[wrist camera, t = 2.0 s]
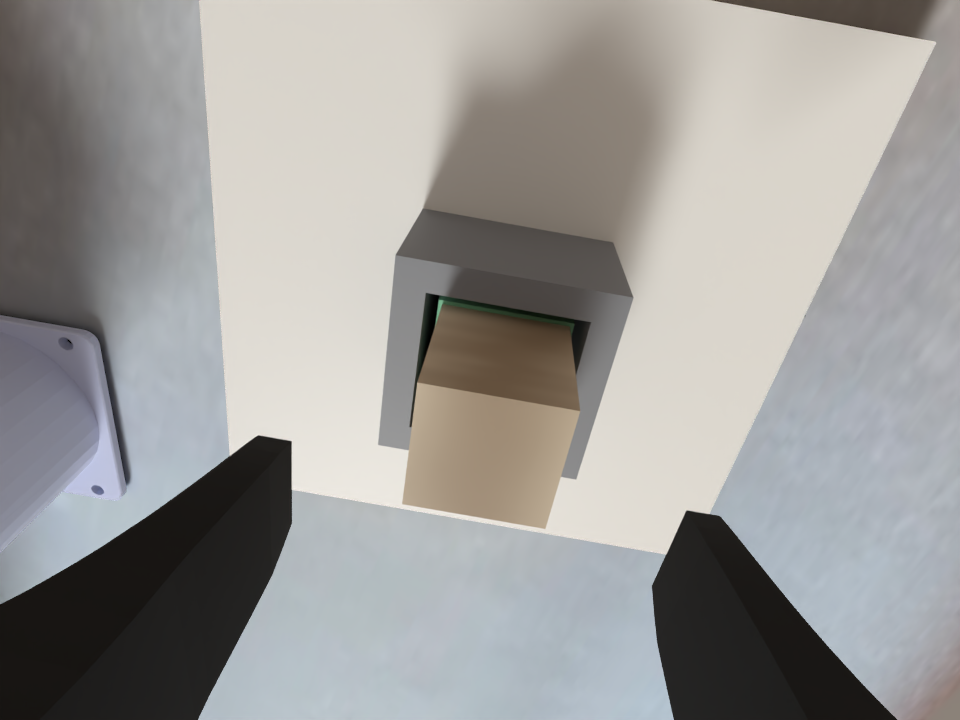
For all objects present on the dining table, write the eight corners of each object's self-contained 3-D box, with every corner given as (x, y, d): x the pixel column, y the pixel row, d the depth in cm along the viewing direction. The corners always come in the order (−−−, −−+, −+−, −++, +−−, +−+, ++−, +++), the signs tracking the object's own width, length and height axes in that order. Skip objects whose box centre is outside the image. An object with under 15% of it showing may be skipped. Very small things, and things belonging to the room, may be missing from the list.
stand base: (244, 459, 24) (177, 560, 20) (216, -88, 15) (81, -135, 11) (681, 535, 24) (715, 652, 20) (908, 40, 15) (1066, 48, 11)
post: (440, 350, 19) (397, 506, 13) (455, 252, 18) (412, 377, 11) (543, 368, 19) (548, 532, 13) (567, 271, 18) (586, 407, 11)
